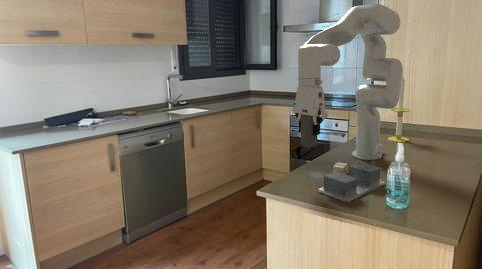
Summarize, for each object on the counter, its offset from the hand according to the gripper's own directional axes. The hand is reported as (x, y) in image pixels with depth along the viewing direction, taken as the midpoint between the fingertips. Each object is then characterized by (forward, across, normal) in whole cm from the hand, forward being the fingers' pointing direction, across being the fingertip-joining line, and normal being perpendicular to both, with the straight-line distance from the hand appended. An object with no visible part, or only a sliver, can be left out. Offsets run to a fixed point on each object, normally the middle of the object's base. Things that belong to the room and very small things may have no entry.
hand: (309, 132), depth 132 cm
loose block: (+19, -3, -14) cm, 24 cm away
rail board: (+19, -14, -6) cm, 24 cm away
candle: (+20, +7, -76) cm, 78 cm away
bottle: (+5, 0, 0) cm, 5 cm away
